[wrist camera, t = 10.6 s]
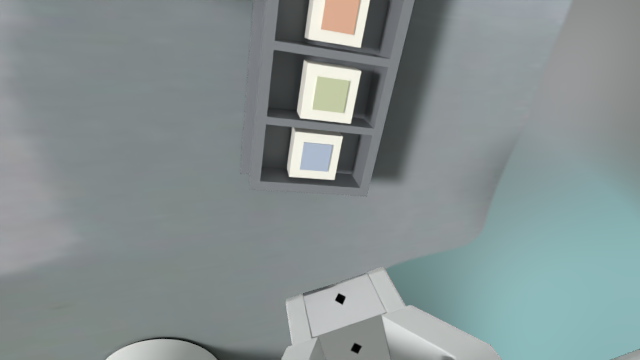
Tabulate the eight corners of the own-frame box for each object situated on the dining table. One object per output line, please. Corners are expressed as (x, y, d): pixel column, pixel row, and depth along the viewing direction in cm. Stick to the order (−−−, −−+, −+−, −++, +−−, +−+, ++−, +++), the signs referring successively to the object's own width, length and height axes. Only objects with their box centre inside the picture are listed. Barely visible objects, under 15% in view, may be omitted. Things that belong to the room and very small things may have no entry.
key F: (353, 45, 28) (361, 47, 26) (304, 37, 27) (308, 39, 25) (363, -11, 27) (373, -13, 25) (312, -22, 26) (317, -24, 24)
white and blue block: (329, 170, 33) (334, 180, 31) (286, 167, 32) (289, 177, 30) (337, 129, 31) (343, 137, 29) (292, 124, 30) (295, 132, 28)
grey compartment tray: (359, 174, 37) (375, 196, 32) (240, 164, 34) (239, 188, 29) (421, -98, 27) (455, -118, 23) (264, -141, 24) (268, -174, 20)
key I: (344, 116, 29) (351, 124, 27) (296, 111, 28) (300, 118, 26) (354, 67, 28) (361, 71, 26) (303, 59, 27) (308, 63, 25)
